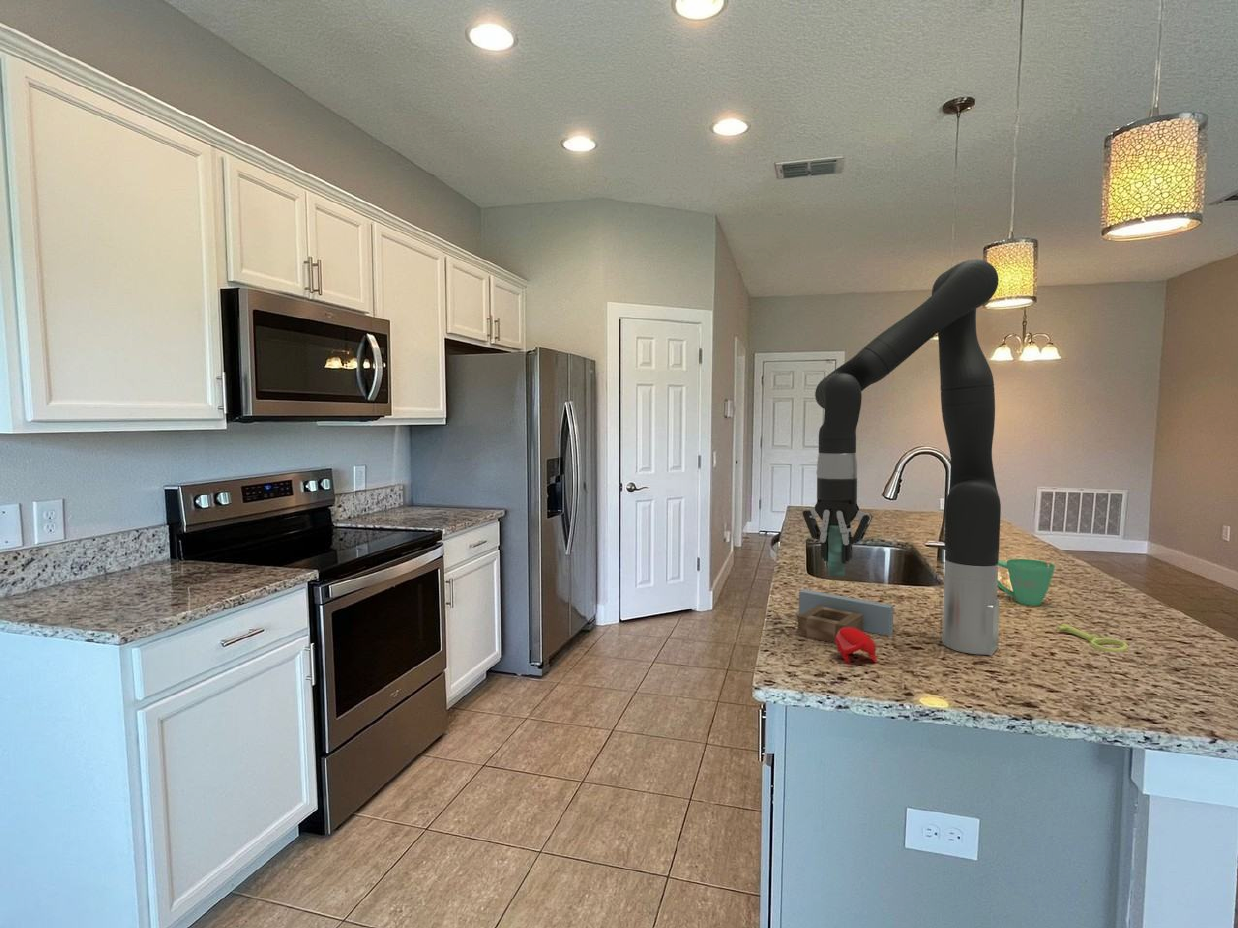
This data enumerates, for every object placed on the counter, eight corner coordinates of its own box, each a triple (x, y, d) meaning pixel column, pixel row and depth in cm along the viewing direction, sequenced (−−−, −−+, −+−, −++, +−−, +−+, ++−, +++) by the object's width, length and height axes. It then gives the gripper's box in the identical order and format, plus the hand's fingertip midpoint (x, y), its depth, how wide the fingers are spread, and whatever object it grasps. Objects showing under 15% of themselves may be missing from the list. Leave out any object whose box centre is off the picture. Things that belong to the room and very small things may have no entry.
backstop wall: (892, 633, 131) (893, 605, 131) (889, 636, 130) (889, 607, 129) (803, 614, 144) (803, 589, 144) (798, 617, 143) (799, 591, 142)
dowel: (847, 574, 124) (847, 524, 124) (841, 577, 122) (841, 526, 121) (831, 571, 126) (831, 523, 126) (825, 574, 124) (825, 525, 123)
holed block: (862, 632, 132) (863, 614, 132) (844, 645, 124) (845, 625, 124) (817, 622, 138) (817, 605, 138) (797, 634, 131) (798, 615, 131)
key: (1061, 632, 133) (1061, 622, 133) (1132, 649, 123) (1132, 639, 123) (1045, 638, 129) (1046, 628, 129) (1117, 657, 119) (1118, 646, 119)
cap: (831, 646, 115) (861, 634, 112) (829, 626, 120) (858, 614, 117) (854, 677, 116) (884, 666, 113) (851, 656, 121) (880, 645, 119)
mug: (1059, 603, 152) (1060, 563, 152) (1044, 611, 146) (1046, 569, 146) (993, 591, 164) (995, 554, 163) (977, 597, 158) (979, 559, 157)
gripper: (879, 476, 121) (878, 563, 122) (809, 473, 130) (809, 554, 131) (867, 478, 116) (866, 570, 117) (795, 475, 124) (794, 560, 125)
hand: (836, 561), depth 124 cm, fingers closed on dowel, 3 cm apart
